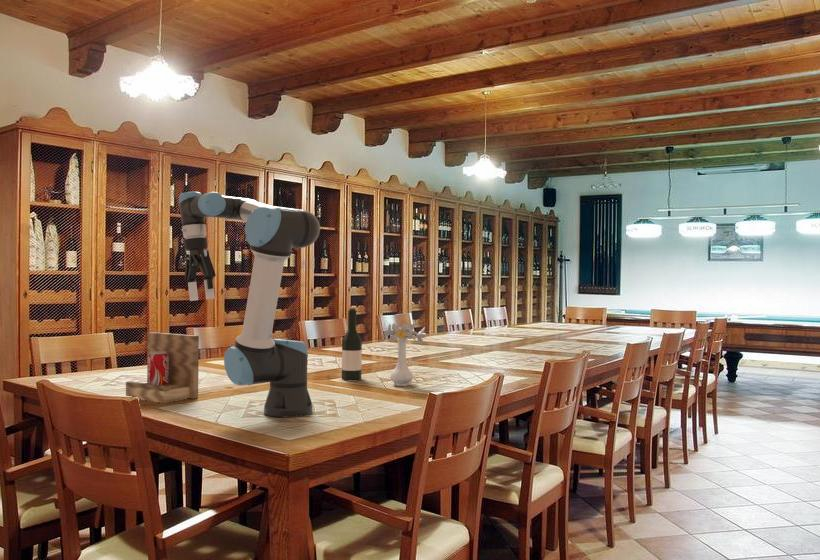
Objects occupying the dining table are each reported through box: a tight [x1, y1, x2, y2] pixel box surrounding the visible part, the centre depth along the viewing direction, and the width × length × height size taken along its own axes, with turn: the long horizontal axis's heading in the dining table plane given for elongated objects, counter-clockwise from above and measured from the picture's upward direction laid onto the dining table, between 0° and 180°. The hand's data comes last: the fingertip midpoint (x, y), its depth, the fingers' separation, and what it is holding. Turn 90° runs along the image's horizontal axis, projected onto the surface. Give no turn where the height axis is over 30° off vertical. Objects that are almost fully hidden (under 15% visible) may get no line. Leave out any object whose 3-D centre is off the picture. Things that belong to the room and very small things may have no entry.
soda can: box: [146, 351, 169, 386], centre depth 224 cm, size 7×7×12 cm
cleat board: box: [125, 331, 200, 404], centre depth 224 cm, size 24×12×22 cm, turn 61°
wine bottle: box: [341, 307, 363, 381], centre depth 269 cm, size 8×8×30 cm
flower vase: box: [381, 322, 427, 387], centre depth 257 cm, size 13×18×25 cm
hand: (202, 299), depth 217 cm, fingers open, 13 cm apart
